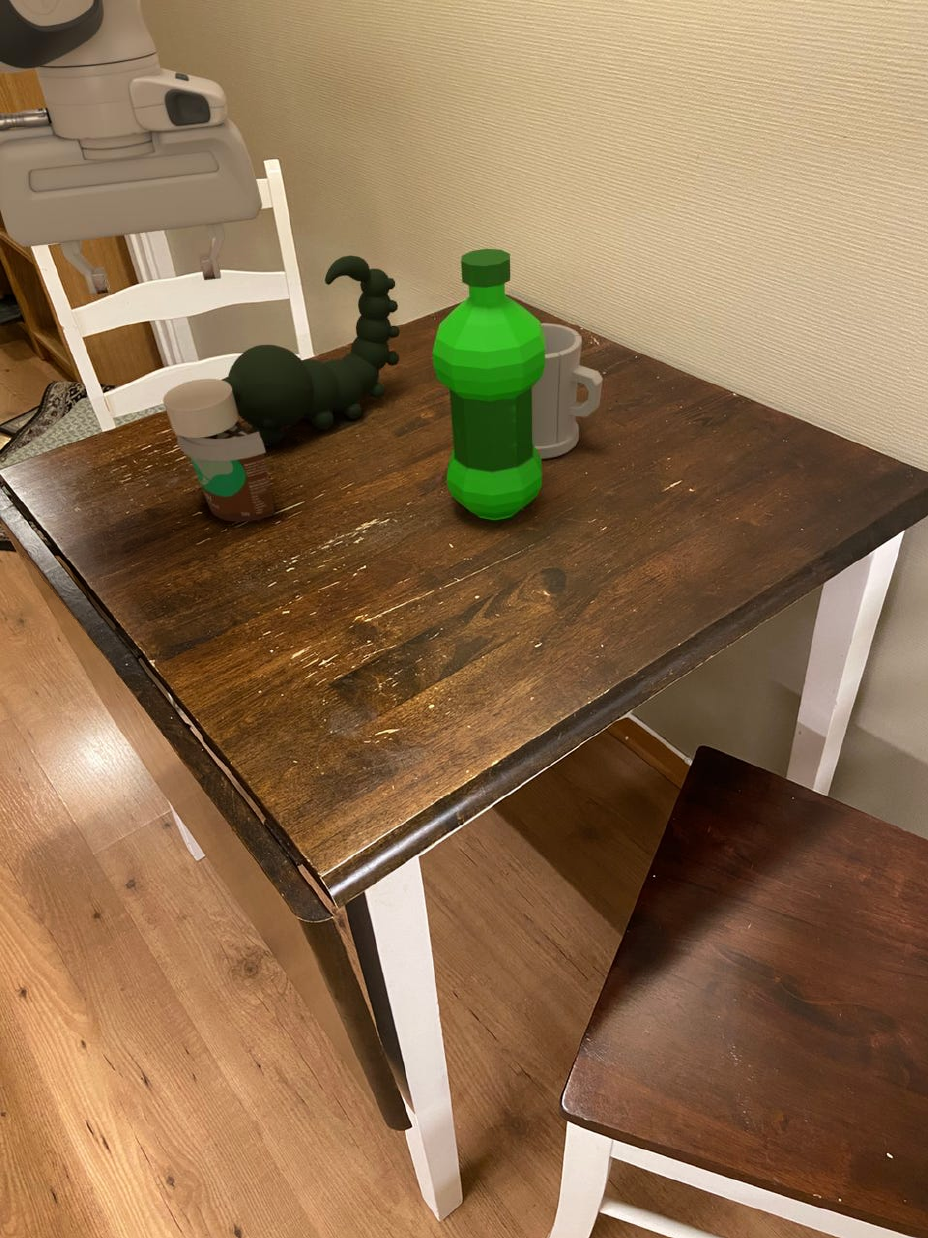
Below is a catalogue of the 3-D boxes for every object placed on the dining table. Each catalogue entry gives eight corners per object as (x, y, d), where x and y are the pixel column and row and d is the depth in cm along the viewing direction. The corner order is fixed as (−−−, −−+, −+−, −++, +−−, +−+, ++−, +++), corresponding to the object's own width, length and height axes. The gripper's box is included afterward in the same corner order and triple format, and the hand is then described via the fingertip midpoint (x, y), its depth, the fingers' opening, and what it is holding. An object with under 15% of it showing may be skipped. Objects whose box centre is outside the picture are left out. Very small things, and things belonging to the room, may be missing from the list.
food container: (179, 493, 96) (152, 410, 90) (230, 473, 99) (208, 391, 92) (227, 543, 89) (202, 456, 82) (282, 520, 91) (261, 433, 85)
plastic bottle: (435, 490, 94) (412, 247, 77) (530, 472, 95) (527, 231, 79) (458, 542, 86) (438, 286, 70) (560, 522, 88) (564, 267, 72)
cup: (583, 416, 104) (586, 316, 96) (602, 455, 97) (607, 351, 89) (495, 426, 103) (491, 327, 96) (508, 466, 96) (504, 362, 89)
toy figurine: (372, 391, 116) (198, 445, 103) (363, 239, 105) (166, 278, 92) (416, 414, 110) (237, 474, 97) (411, 256, 99) (208, 301, 86)
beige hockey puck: (171, 443, 84) (162, 414, 82) (172, 412, 89) (163, 384, 87) (240, 431, 85) (233, 403, 83) (237, 401, 90) (230, 374, 88)
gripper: (-45, 124, 63) (26, 314, 72) (243, 95, 66) (277, 281, 75) (-29, 108, 68) (36, 288, 77) (238, 82, 71) (271, 258, 80)
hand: (157, 284), depth 76 cm, fingers open, 8 cm apart
